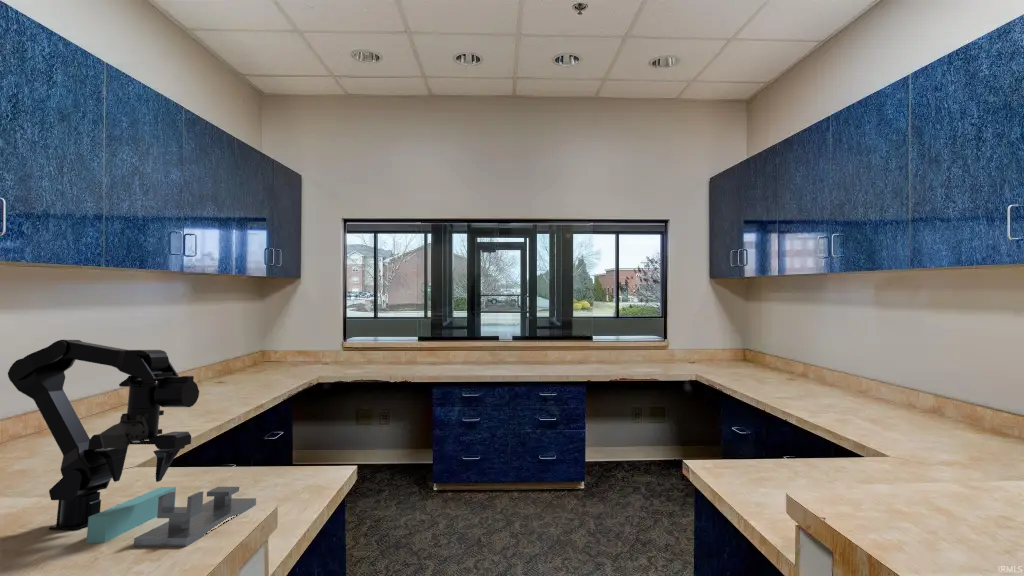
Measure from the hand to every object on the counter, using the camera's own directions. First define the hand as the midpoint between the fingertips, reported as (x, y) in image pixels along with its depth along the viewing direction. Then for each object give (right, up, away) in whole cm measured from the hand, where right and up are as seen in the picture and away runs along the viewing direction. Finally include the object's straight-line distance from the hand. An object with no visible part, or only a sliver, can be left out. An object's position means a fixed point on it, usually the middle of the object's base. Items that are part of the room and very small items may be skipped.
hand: (137, 481), depth 104 cm
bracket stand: (+15, -8, -1) cm, 17 cm away
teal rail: (0, -9, -1) cm, 9 cm away
